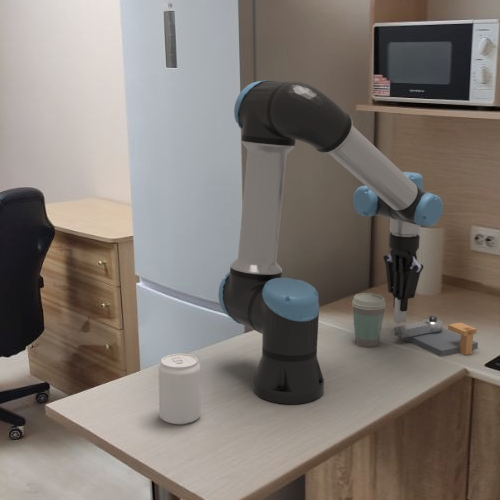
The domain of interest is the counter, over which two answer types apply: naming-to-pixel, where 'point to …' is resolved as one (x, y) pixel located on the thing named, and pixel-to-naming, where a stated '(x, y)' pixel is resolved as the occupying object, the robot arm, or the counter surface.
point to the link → (419, 327)
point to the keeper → (464, 336)
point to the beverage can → (179, 389)
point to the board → (439, 342)
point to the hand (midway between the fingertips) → (399, 321)
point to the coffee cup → (368, 318)
